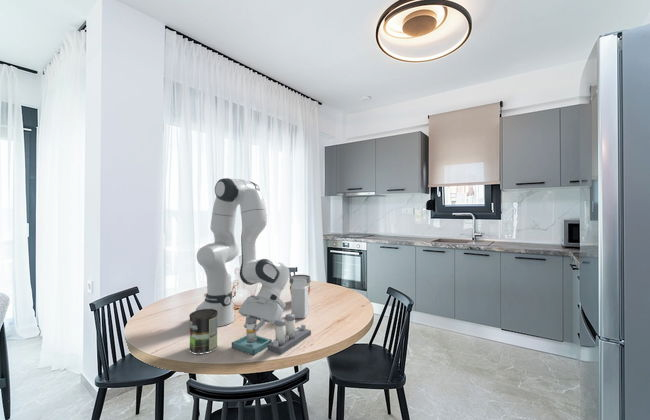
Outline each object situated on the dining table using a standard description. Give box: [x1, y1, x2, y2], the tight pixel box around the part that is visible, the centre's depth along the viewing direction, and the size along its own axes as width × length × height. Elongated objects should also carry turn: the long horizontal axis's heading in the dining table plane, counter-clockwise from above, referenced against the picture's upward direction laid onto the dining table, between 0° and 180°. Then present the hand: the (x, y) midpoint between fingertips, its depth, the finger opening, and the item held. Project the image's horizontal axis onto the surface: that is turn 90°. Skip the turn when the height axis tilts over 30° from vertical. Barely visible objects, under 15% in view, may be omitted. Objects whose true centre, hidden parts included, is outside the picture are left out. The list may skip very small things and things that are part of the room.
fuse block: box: [267, 323, 312, 355], centre depth 121 cm, size 7×20×4 cm, turn 149°
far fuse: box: [274, 318, 286, 346], centre depth 115 cm, size 4×4×9 cm
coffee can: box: [189, 309, 218, 354], centre depth 115 cm, size 10×10×14 cm
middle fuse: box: [285, 313, 296, 339], centre depth 121 cm, size 4×4×9 cm
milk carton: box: [290, 279, 309, 319], centre depth 150 cm, size 7×7×19 cm
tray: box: [231, 334, 273, 356], centre depth 117 cm, size 12×10×2 cm
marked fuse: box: [245, 317, 258, 343], centre depth 117 cm, size 4×4×9 cm
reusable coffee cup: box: [289, 274, 311, 296], centre depth 172 cm, size 13×13×15 cm
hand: (250, 329), depth 116 cm, fingers closed on marked fuse, 4 cm apart
